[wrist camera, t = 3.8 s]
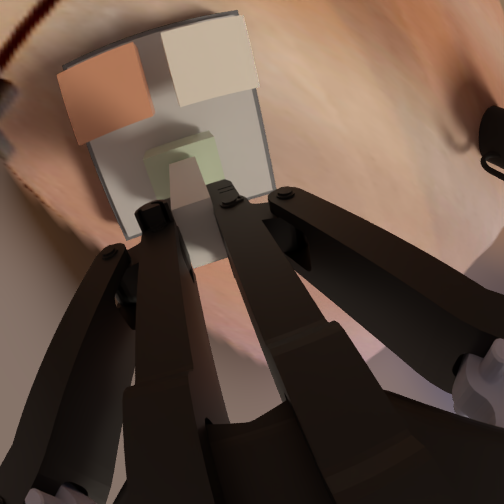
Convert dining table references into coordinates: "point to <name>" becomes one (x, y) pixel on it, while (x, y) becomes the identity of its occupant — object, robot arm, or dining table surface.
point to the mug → (492, 140)
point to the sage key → (180, 150)
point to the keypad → (178, 133)
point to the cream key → (210, 59)
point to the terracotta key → (106, 93)
